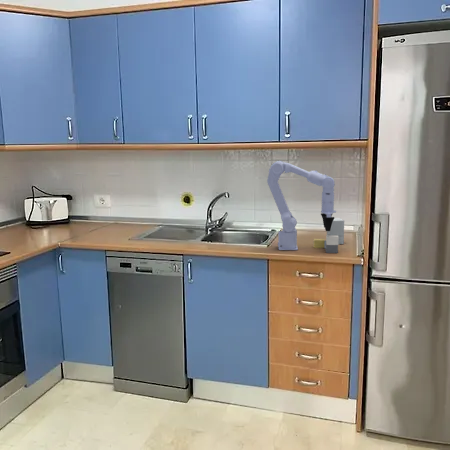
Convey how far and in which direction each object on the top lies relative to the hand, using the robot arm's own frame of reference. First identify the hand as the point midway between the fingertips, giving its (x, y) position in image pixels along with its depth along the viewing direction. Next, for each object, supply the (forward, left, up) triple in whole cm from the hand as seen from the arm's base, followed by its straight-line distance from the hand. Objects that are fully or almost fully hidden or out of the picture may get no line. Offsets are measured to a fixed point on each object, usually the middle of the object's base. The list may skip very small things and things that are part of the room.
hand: (327, 229), depth 229 cm
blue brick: (+2, +3, -11) cm, 11 cm away
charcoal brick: (+2, -5, -10) cm, 11 cm away
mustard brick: (-3, +5, -11) cm, 12 cm away
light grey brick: (+2, -5, -6) cm, 8 cm away
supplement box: (+6, +14, -11) cm, 19 cm away
